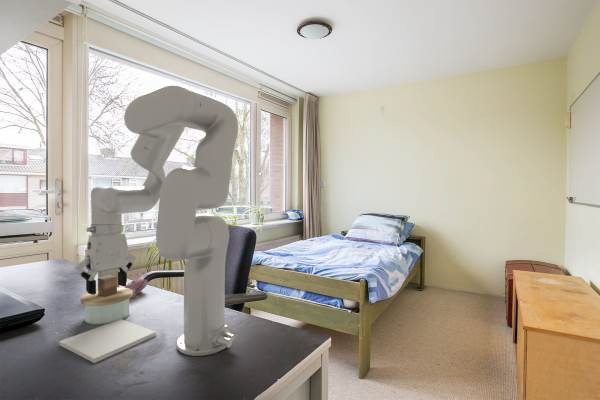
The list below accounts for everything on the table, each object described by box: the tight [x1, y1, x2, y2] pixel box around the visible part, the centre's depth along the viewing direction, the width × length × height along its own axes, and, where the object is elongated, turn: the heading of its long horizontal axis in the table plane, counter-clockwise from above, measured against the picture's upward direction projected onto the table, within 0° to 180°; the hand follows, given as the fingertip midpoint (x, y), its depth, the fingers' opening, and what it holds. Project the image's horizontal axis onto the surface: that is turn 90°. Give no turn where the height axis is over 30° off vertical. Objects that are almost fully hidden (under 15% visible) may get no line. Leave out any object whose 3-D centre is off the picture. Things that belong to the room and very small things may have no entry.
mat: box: [59, 319, 157, 364], centre depth 79 cm, size 15×15×1 cm
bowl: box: [84, 298, 130, 325], centre depth 93 cm, size 11×11×6 cm
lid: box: [80, 275, 134, 306], centre depth 93 cm, size 13×13×6 cm
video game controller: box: [123, 277, 149, 298], centre depth 111 cm, size 10×5×7 cm, turn 169°
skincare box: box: [97, 268, 120, 287], centre depth 112 cm, size 6×4×12 cm
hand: (107, 289), depth 93 cm, fingers open, 8 cm apart
